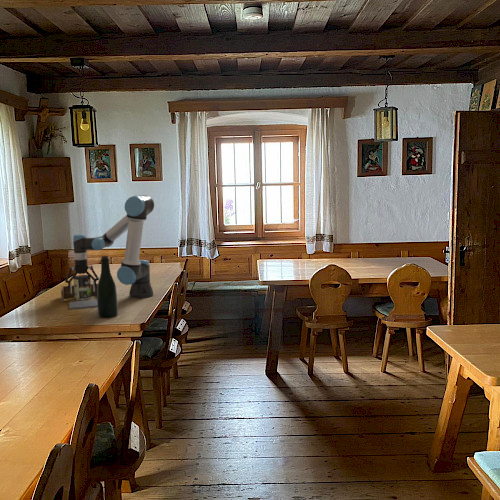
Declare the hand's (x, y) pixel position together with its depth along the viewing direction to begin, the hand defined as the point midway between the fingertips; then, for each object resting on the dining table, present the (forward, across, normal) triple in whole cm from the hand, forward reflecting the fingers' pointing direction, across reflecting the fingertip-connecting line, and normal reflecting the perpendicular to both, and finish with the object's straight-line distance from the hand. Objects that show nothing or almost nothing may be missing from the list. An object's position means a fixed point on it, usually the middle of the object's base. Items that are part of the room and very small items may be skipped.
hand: (82, 292), depth 320 cm
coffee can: (+4, 0, 0) cm, 4 cm away
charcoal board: (+4, 0, +20) cm, 20 cm away
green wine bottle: (+4, -12, +51) cm, 52 cm away
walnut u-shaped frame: (+4, 0, 0) cm, 4 cm away
